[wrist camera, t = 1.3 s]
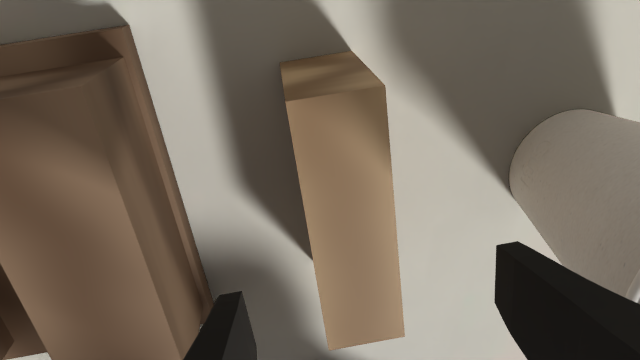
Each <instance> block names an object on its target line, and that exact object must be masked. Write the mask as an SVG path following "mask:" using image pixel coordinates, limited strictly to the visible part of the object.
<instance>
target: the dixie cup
mask: <svg viewBox="0 0 640 360" xmlns="http://www.w3.org/2000/svg"><path fill="white" fill-rule="evenodd" d="M509 184H510V189H511V192H512V194H513V197H514V198H515V200H516V201H517V203H518V204H519V205H520V207H521V208H522V210H523V211H524V212H525V214H526V215H527V216H528V218H529V219H530V221H531V222H532V223H533V225H534V226H535V228H536V229H537V230H538V232H539V233H540V235H541V236H542V237H543V239H544V240H545V242H546V243H547V244H548V246H549V247H550V248H551V250H552V251H553V253H554V254H555V255H556V257H557V258H558V260H559V261H560V262H561V264H562V265H563V266H564V267H566V268H568V269H569V270H571V271H573V272H575V273H577V274H579V275H581V276H582V277H584V278H586V279H588V280H590V281H592V282H594V283H596V284H598V285H600V286H602V287H604V288H606V289H608V290H610V291H612V292H614V293H617V294H619V295H621V296H623V297H625V298H627V299H629V300H632V301H634V302H636V303H638V304H640V122H636V121H632V120H628V119H624V118H620V117H616V116H612V115H608V114H604V113H600V112H596V111H592V110H586V109H576V110H569V111H565V112H562V113H559V114H556V115H554V116H552V117H550V118H548V119H546V120H545V121H543V122H542V123H540V124H539V125H537V126H536V127H535V128H534V129H533V130H532V131H531V132H530V133H529V134H528V135H527V136H526V137H525V138H524V140H523V141H522V142H521V144H520V145H519V147H518V148H517V150H516V152H515V154H514V157H513V159H512V162H511V166H510V171H509Z"/></svg>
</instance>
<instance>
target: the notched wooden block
mask: <svg viewBox="0 0 640 360" xmlns="http://www.w3.org/2000/svg"><path fill="white" fill-rule="evenodd" d="M213 305H214V303H213V300H212V297H211V293H210V290H209V287H208V283H207V280H206V277H205V274H204V270H203V267H202V264H201V260H200V257H199V254H198V250H197V247H196V244H195V241H194V237H193V234H192V231H191V227H190V224H189V221H188V217H187V214H186V211H185V208H184V204H183V201H182V198H181V194H180V191H179V188H178V184H177V181H176V178H175V175H174V171H173V168H172V165H171V161H170V158H169V155H168V152H167V148H166V145H165V142H164V138H163V135H162V132H161V128H160V125H159V122H158V119H157V115H156V112H155V109H154V105H153V102H152V99H151V95H150V92H149V89H148V86H147V82H146V79H145V76H144V72H143V69H142V66H141V62H140V59H139V56H138V53H137V49H136V46H135V43H134V39H133V36H132V33H131V29H130V26H129V25H124V26H118V27H111V28H105V29H99V30H92V31H86V32H80V33H73V34H67V35H60V36H54V37H48V38H41V39H35V40H29V41H22V42H16V43H10V44H3V45H0V360H7V359H12V358H18V357H23V356H29V355H34V354H40V353H45V352H48V354H49V356H50V357H51V359H52V360H183V359H184V357H185V355H186V354H187V352H188V350H189V349H190V347H191V345H192V344H193V342H194V340H195V339H196V337H197V335H198V333H199V327H200V324H204V322H205V321H206V319H207V317H208V315H209V313H210V311H211V309H212V307H213Z"/></svg>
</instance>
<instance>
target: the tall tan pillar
mask: <svg viewBox="0 0 640 360" xmlns="http://www.w3.org/2000/svg"><path fill="white" fill-rule="evenodd" d="M280 69H281V76H282V83H283V90H284V96H285V103H286V109H287V114H288V120H289V126H290V132H291V137H292V143H293V149H294V154H295V160H296V166H297V171H298V177H299V183H300V189H301V194H302V200H303V206H304V211H305V217H306V223H307V228H308V234H309V240H310V246H311V251H312V257H313V263H314V268H315V274H316V280H317V285H318V291H319V297H320V303H321V308H322V314H323V320H324V325H325V331H326V337H327V343H328V348H329V350H335V349H340V348H346V347H351V346H356V345H362V344H367V343H372V342H378V341H383V340H389V339H394V338H399V337H405V334H404V321H403V308H402V295H401V283H400V270H399V257H398V244H397V231H396V218H395V206H394V193H393V180H392V167H391V154H390V142H389V129H388V116H387V103H386V90H385V85H384V84H383V83H382V82H381V81H380V80H379V79H378V77H377V76H376V75H375V74H374V73H373V72H372V71H371V70H370V69H369V68H368V67H367V66H366V65H365V64H364V63H363V62H362V61H361V60H360V59H359V58H358V57H357V56H356V55H355V54H354V53H353V52H352V51H348V52H342V53H335V54H329V55H323V56H317V57H311V58H305V59H298V60H292V61H286V62H280Z"/></svg>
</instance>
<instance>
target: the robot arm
mask: <svg viewBox="0 0 640 360" xmlns="http://www.w3.org/2000/svg"><path fill="white" fill-rule="evenodd" d="M495 304H496V306H497V308H498V310H499V312H500V314H501V316H502V319H503V321H504V322H505V324H506V326H507V328H508V330H509V332H510V334H511V335H512V337H513V339H514V340H515V342H516V343H517V345H518V346H519V348H520V349H521V351H522V352H523V354H524V355H525V357H526V358H527V359H528V360H640V304H638V303H636V302H634V301H632V300H629V299H627V298H625V297H623V296H621V295H619V294H617V293H614V292H612V291H610V290H608V289H606V288H604V287H602V286H600V285H598V284H596V283H594V282H592V281H590V280H588V279H586V278H584V277H582V276H581V275H579V274H577V273H575V272H573V271H571V270H569V269H568V268H566V267H564V266H562V265H560V264H558V263H557V262H555V261H553V260H551V259H549V258H548V257H546V256H544V255H542V254H540V253H539V252H537V251H535V250H533V249H531V248H530V247H528V246H526V245H524V244H522V243H520V242H518V241H517V242H512V243H506V244H501V245H497V246H496V276H495ZM183 360H257V350H256V343H255V339H254V336H253V332H252V328H251V324H250V321H249V317H248V313H247V309H246V306H245V302H244V298H243V294H242V291H240V292H234V293H229V294H223V295H219V297H218V298H217V299H216V301H215V303H214V305H213V307H212V309H211V311H210V313H209V315H208V317H207V319H206V321H205V322H204V324H203V326H202V328H201V330H200V332H199V333H198V335H197V337H196V339H195V340H194V342H193V344H192V345H191V347H190V349H189V350H188V352H187V354H186V355H185V357H184V359H183Z"/></svg>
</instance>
